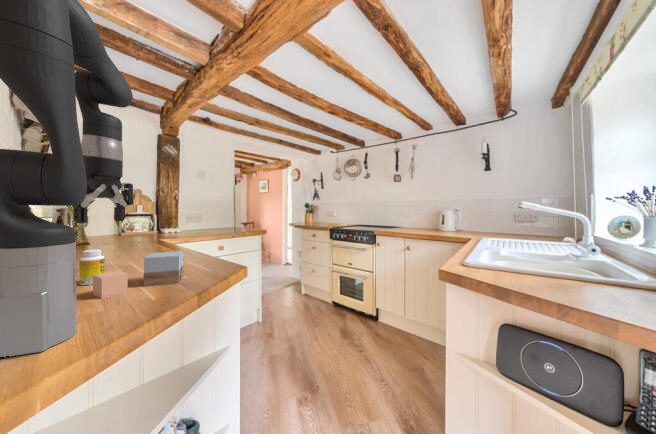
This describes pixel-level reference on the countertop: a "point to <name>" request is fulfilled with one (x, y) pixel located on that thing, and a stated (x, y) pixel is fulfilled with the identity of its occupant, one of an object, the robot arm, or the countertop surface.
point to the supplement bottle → (90, 266)
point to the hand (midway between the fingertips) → (101, 221)
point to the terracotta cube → (110, 284)
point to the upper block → (163, 261)
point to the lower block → (163, 277)
